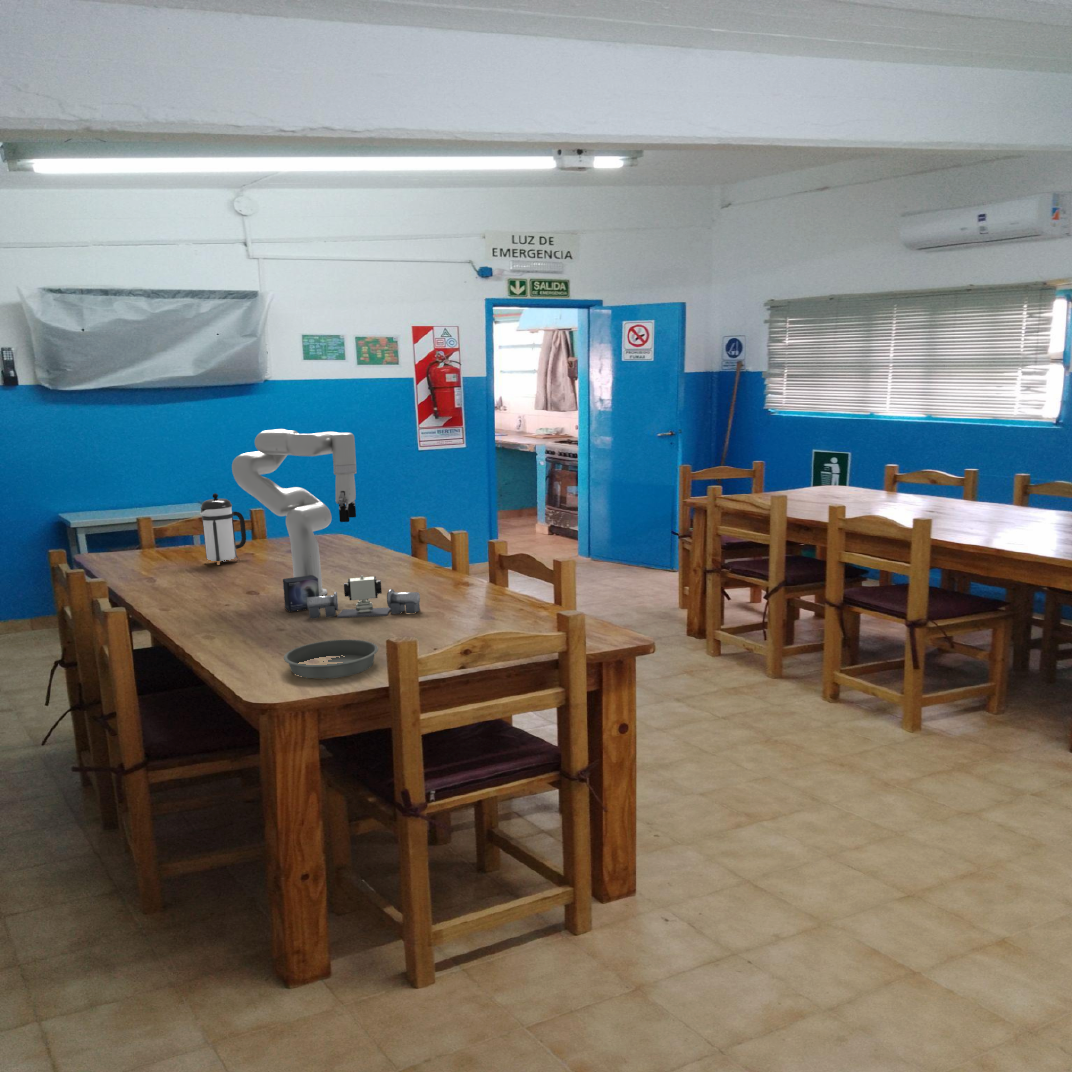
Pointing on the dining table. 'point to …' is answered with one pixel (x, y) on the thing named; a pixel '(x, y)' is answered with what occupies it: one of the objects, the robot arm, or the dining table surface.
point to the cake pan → (354, 661)
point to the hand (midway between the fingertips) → (348, 519)
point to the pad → (354, 613)
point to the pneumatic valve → (363, 592)
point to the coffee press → (220, 529)
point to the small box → (299, 591)
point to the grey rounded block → (403, 601)
